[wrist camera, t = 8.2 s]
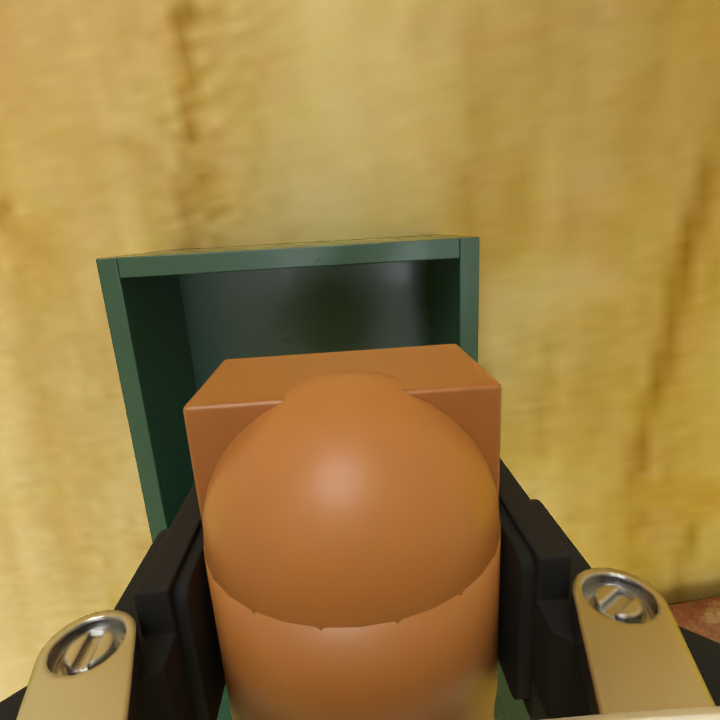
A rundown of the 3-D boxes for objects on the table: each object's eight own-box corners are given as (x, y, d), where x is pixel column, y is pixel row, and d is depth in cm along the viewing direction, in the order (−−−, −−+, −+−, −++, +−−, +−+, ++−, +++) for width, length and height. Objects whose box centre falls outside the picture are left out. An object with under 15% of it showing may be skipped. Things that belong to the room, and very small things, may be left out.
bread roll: (222, 349, 10) (117, 460, 5) (456, 333, 11) (569, 426, 6) (264, 656, 13) (218, 937, 8) (458, 638, 13) (538, 901, 8)
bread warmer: (164, 250, 26) (95, 259, 18) (438, 234, 26) (479, 236, 19) (205, 501, 30) (161, 592, 23) (440, 483, 31) (475, 566, 23)
